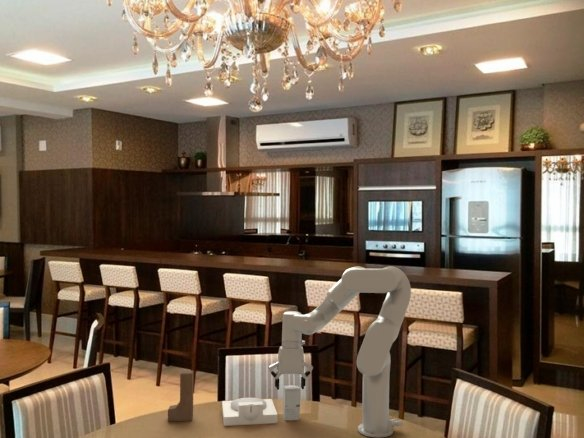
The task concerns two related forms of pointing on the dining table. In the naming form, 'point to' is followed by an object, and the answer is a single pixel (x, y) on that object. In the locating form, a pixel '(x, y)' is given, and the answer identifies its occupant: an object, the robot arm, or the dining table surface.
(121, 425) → the dining table surface
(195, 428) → the dining table surface
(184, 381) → the wooden block
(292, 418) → the skincare box
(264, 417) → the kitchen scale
